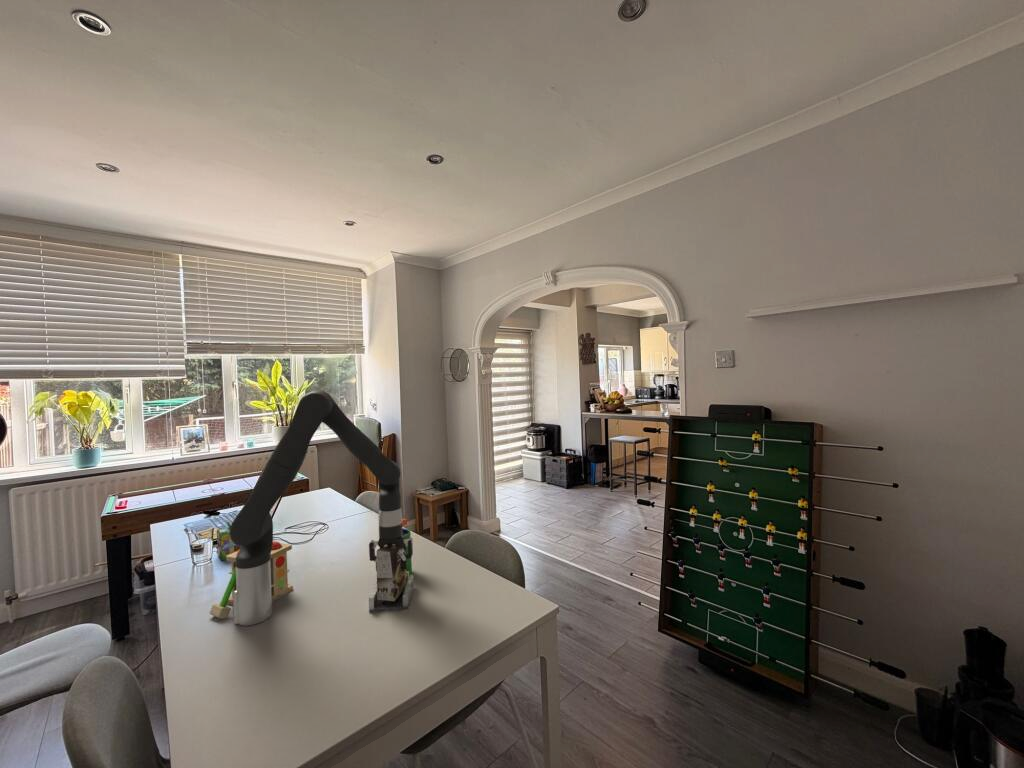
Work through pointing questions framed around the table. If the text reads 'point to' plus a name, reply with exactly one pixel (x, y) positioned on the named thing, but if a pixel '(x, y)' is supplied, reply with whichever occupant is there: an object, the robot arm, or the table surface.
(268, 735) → the table surface
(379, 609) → the grey open tray
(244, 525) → the robot arm
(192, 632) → the table surface
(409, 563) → the motor
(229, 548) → the chalk box
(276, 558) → the pounding bench toy
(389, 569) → the coffee box
